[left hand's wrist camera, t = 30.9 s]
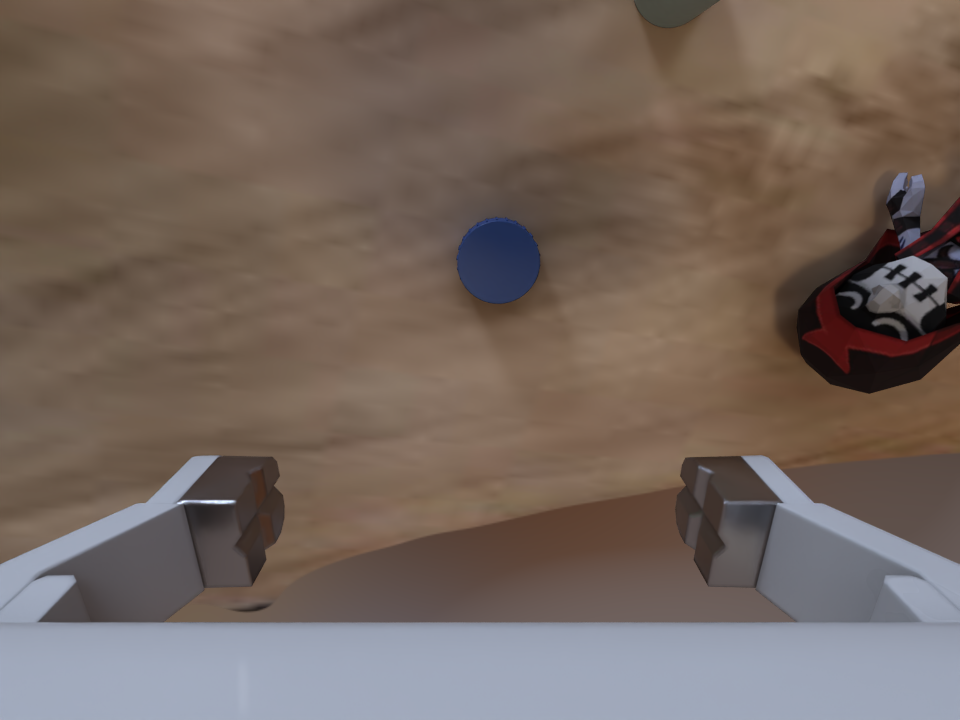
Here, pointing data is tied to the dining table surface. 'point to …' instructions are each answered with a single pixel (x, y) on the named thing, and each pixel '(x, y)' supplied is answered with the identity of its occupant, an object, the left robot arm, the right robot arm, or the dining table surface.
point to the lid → (498, 260)
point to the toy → (889, 302)
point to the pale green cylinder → (672, 11)
